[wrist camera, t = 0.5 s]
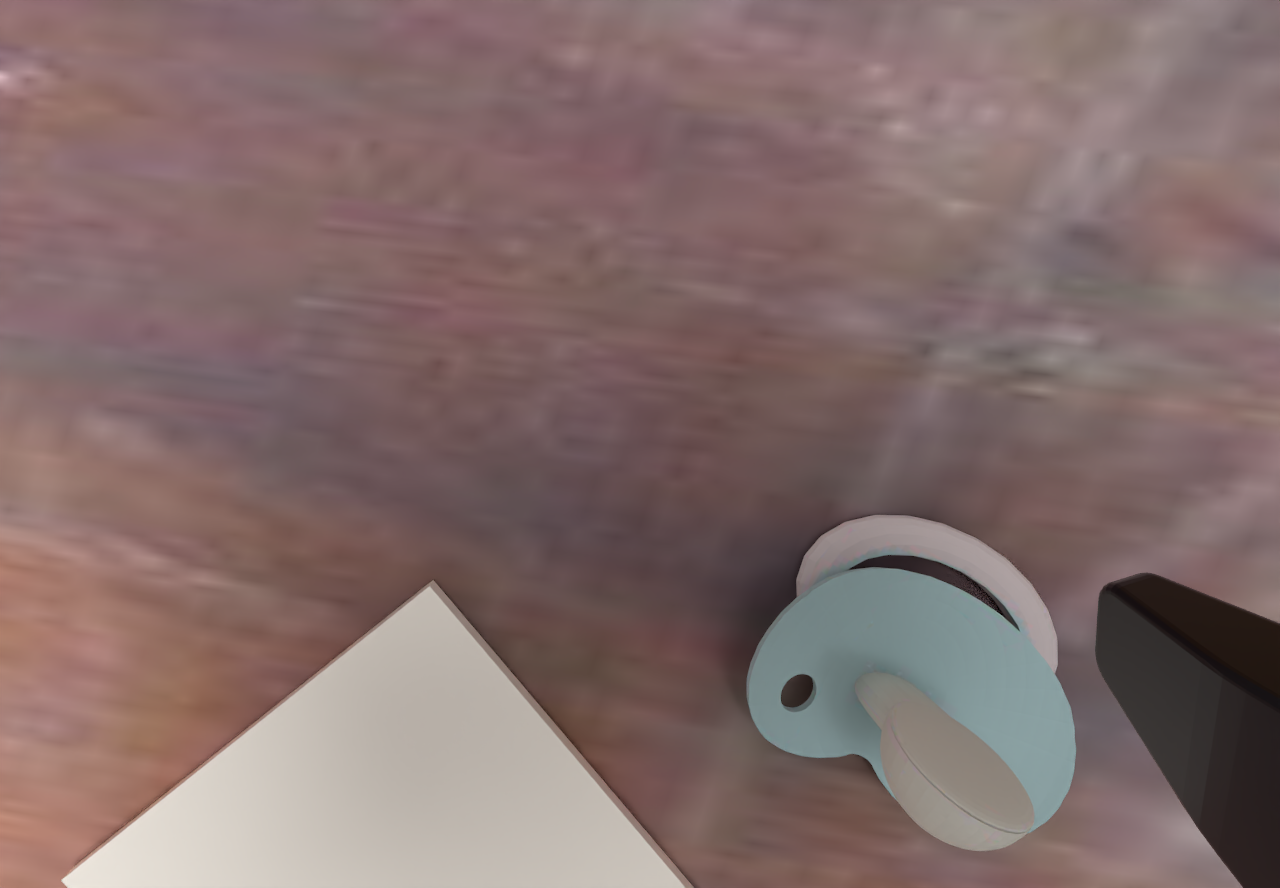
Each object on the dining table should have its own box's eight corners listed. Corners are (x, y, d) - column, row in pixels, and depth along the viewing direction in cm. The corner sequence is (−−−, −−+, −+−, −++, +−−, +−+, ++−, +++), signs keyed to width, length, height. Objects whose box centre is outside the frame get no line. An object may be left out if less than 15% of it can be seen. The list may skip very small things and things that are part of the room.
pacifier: (828, 457, 23) (700, 692, 23) (931, 489, 17) (755, 807, 17) (1098, 607, 24) (972, 833, 24) (1289, 688, 18) (1119, 992, 18)
